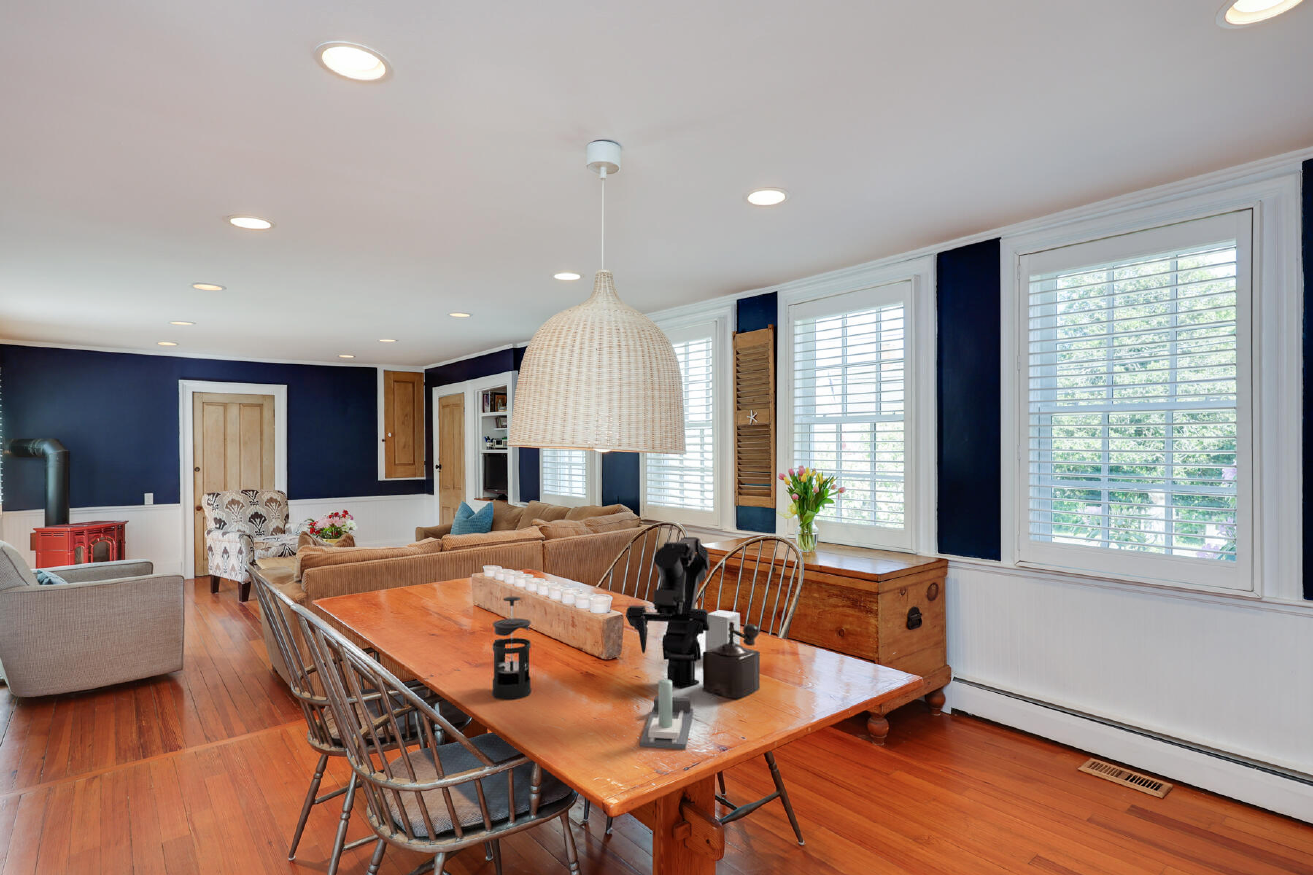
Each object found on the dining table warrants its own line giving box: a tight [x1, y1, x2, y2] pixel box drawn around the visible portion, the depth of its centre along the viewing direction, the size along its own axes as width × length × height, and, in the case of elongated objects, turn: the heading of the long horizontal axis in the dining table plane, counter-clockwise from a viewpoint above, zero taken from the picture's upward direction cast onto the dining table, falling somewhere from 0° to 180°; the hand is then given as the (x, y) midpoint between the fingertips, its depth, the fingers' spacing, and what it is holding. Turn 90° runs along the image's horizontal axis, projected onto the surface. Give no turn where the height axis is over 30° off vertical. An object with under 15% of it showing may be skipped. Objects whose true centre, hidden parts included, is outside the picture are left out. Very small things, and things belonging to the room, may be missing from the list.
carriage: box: [648, 678, 682, 739], centre depth 141 cm, size 7×6×10 cm
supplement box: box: [704, 609, 741, 652], centre depth 196 cm, size 7×7×13 cm
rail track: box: [639, 696, 694, 750], centre depth 146 cm, size 19×9×4 cm, turn 172°
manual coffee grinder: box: [702, 622, 761, 700], centre depth 168 cm, size 16×11×18 cm
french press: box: [491, 596, 532, 701], centre depth 168 cm, size 12×9×23 cm
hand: (663, 653), depth 154 cm, fingers open, 9 cm apart
